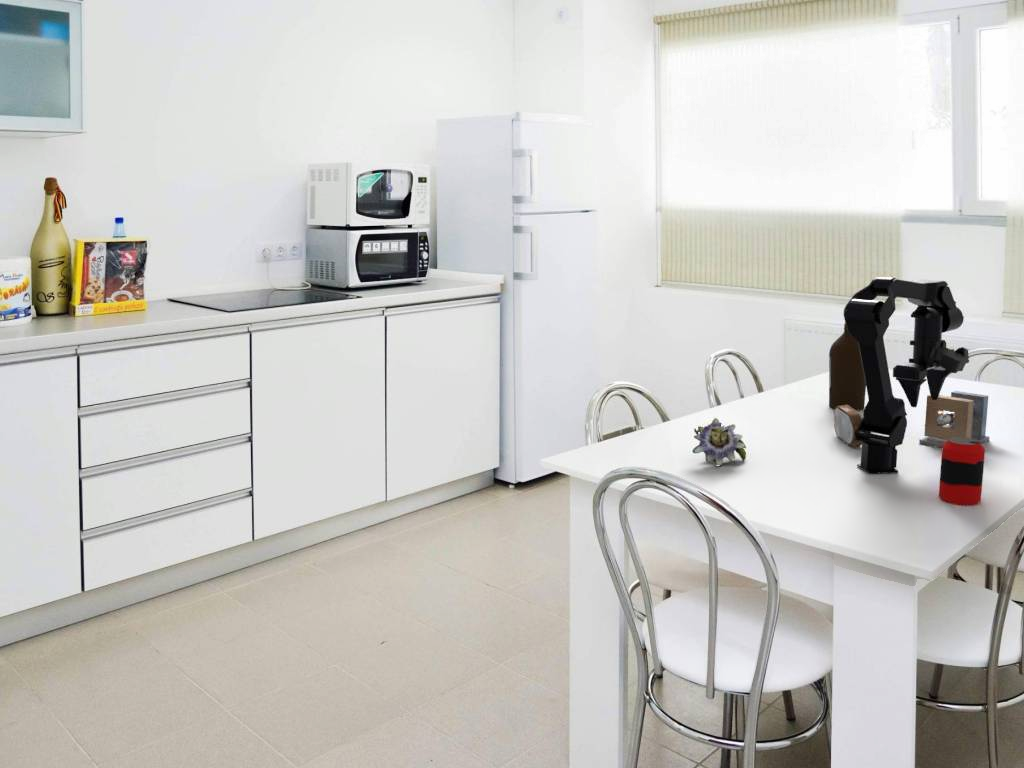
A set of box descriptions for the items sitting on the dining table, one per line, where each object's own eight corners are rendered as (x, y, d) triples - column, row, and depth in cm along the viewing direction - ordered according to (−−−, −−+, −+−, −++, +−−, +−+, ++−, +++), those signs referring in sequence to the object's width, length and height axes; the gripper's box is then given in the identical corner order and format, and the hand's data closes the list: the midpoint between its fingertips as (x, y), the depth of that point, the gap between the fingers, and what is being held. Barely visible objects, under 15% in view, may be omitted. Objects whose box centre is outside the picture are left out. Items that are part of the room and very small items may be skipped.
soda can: (974, 508, 182) (978, 448, 180) (933, 500, 187) (937, 441, 185) (985, 498, 188) (990, 439, 185) (945, 491, 193) (949, 434, 190)
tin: (864, 449, 225) (866, 415, 223) (850, 450, 225) (852, 415, 223) (843, 434, 239) (845, 401, 238) (830, 434, 239) (832, 401, 238)
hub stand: (960, 451, 221) (963, 405, 219) (919, 443, 229) (922, 398, 227) (989, 440, 230) (992, 396, 228) (948, 433, 238) (951, 390, 236)
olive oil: (871, 406, 269) (876, 318, 264) (858, 413, 261) (863, 322, 256) (834, 401, 276) (838, 315, 271) (820, 408, 268) (825, 320, 263)
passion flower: (718, 489, 214) (691, 451, 210) (704, 467, 224) (678, 430, 220) (760, 461, 213) (734, 423, 209) (744, 441, 223) (719, 403, 219)
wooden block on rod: (965, 443, 222) (968, 401, 220) (924, 435, 230) (927, 395, 228) (970, 441, 224) (973, 400, 222) (929, 434, 232) (932, 393, 230)
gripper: (942, 345, 202) (938, 417, 205) (983, 333, 213) (979, 401, 216) (892, 340, 210) (889, 408, 213) (935, 329, 221) (931, 394, 225)
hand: (924, 403), depth 217 cm, fingers open, 9 cm apart
